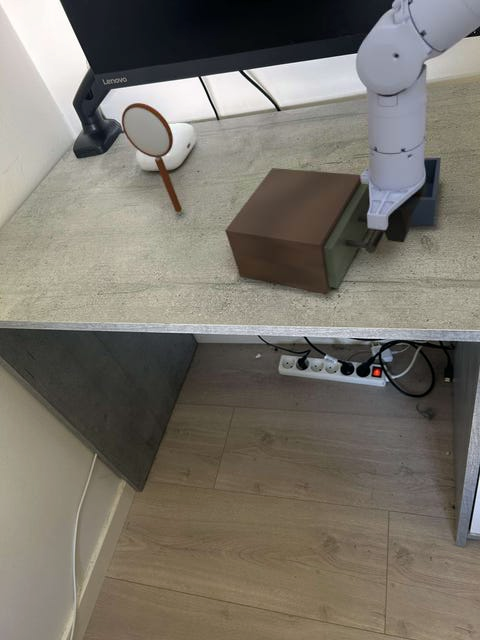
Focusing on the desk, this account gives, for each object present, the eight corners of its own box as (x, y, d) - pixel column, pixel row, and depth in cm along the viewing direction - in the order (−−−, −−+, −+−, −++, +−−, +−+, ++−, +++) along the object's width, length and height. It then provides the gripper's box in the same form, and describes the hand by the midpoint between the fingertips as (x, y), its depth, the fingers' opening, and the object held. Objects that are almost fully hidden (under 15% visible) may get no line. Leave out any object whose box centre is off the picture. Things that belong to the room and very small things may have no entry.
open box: (384, 184, 77) (384, 159, 74) (438, 183, 74) (440, 157, 71) (375, 225, 71) (374, 199, 68) (433, 226, 68) (435, 199, 65)
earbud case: (204, 140, 101) (196, 115, 97) (180, 176, 94) (170, 151, 90) (162, 142, 105) (153, 118, 101) (135, 177, 98) (125, 153, 94)
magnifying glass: (158, 215, 87) (110, 106, 72) (163, 209, 88) (116, 101, 73) (198, 220, 83) (156, 106, 69) (203, 213, 84) (163, 100, 69)
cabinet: (364, 225, 72) (361, 174, 66) (327, 294, 65) (320, 245, 58) (282, 214, 78) (272, 167, 72) (240, 276, 71) (224, 230, 65)
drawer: (399, 227, 69) (399, 186, 64) (367, 294, 62) (365, 254, 57) (292, 214, 76) (285, 176, 72) (254, 272, 70) (243, 235, 65)
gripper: (380, 104, 57) (383, 200, 67) (335, 176, 50) (346, 271, 60) (443, 105, 54) (437, 205, 64) (405, 181, 47) (404, 282, 56)
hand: (397, 238), depth 62 cm, fingers closed
